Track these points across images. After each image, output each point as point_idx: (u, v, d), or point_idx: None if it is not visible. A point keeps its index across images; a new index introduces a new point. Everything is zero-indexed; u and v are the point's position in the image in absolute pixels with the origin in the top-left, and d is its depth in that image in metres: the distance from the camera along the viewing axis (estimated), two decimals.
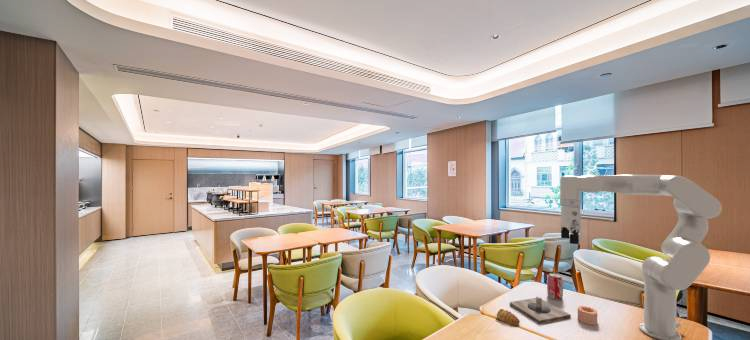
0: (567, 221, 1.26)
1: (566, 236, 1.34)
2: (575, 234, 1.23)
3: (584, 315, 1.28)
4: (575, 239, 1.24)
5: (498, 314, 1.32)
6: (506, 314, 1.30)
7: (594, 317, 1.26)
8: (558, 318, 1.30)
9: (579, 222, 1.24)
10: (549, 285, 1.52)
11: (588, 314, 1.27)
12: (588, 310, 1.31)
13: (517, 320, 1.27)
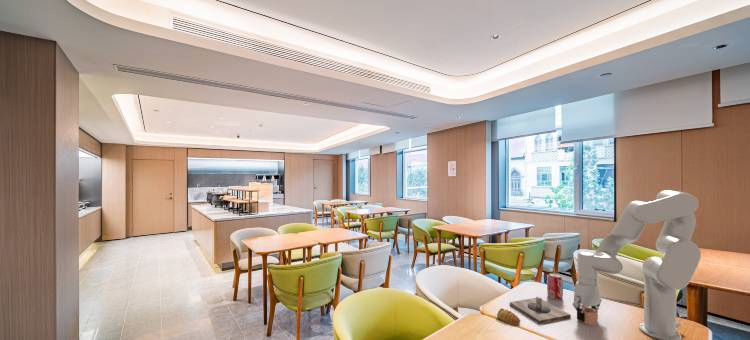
0: (598, 298, 1.29)
1: None
2: None
3: None
4: None
5: (499, 313, 1.32)
6: (507, 313, 1.30)
7: (594, 317, 1.26)
8: (558, 318, 1.30)
9: None
10: (549, 285, 1.52)
11: (588, 314, 1.27)
12: (588, 310, 1.31)
13: (518, 319, 1.28)
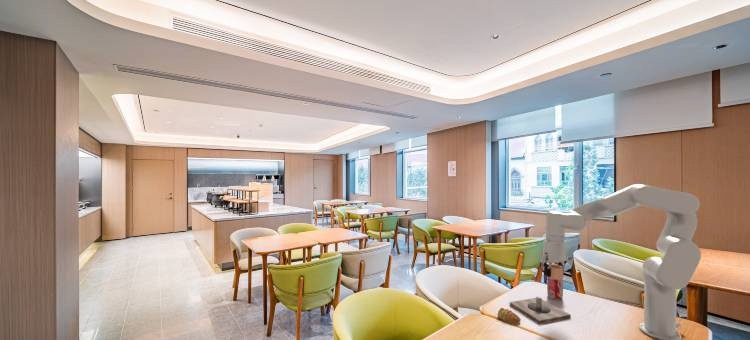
0: (564, 255, 1.34)
1: None
2: None
3: None
4: None
5: (499, 313, 1.33)
6: (507, 313, 1.31)
7: (560, 272, 1.32)
8: (558, 318, 1.30)
9: None
10: (549, 285, 1.52)
11: (554, 269, 1.32)
12: (555, 267, 1.37)
13: (518, 319, 1.28)
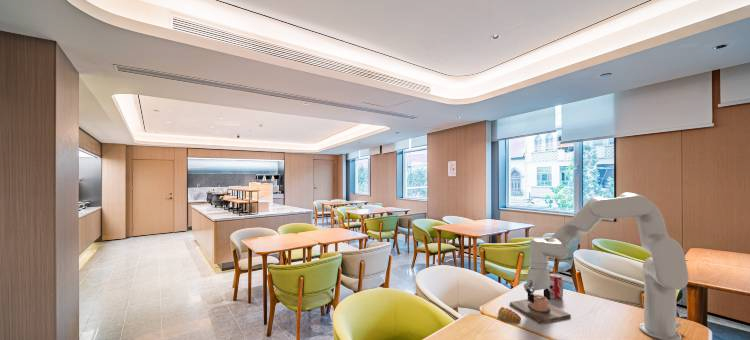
0: (548, 281, 1.37)
1: None
2: None
3: (535, 302, 1.36)
4: None
5: (499, 312, 1.33)
6: (507, 312, 1.32)
7: (544, 304, 1.35)
8: (558, 318, 1.30)
9: None
10: None
11: (538, 301, 1.35)
12: None
13: (519, 317, 1.29)
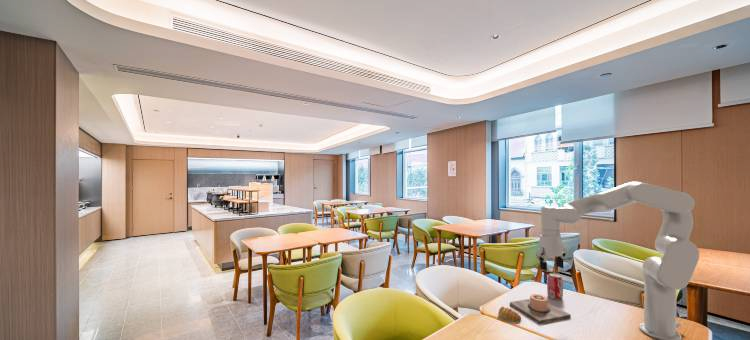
0: (561, 249, 1.34)
1: None
2: None
3: (535, 302, 1.36)
4: None
5: (500, 312, 1.34)
6: (508, 311, 1.32)
7: (544, 304, 1.35)
8: (558, 318, 1.30)
9: None
10: (549, 285, 1.52)
11: (538, 301, 1.35)
12: None
13: (519, 317, 1.30)
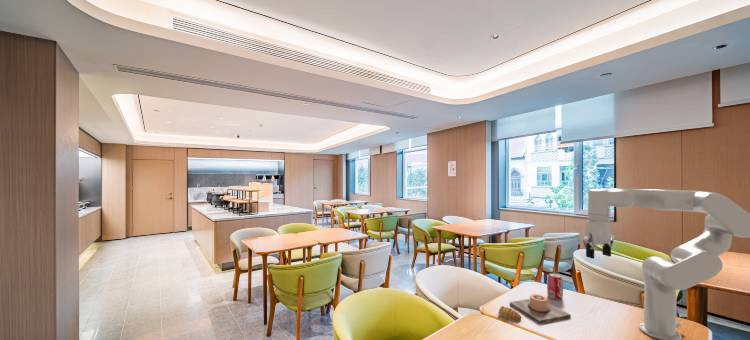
0: (610, 235, 1.25)
1: None
2: None
3: (535, 302, 1.36)
4: None
5: (500, 312, 1.34)
6: (508, 311, 1.33)
7: (544, 304, 1.35)
8: (558, 318, 1.30)
9: None
10: (549, 285, 1.52)
11: (538, 301, 1.35)
12: None
13: (519, 316, 1.30)
